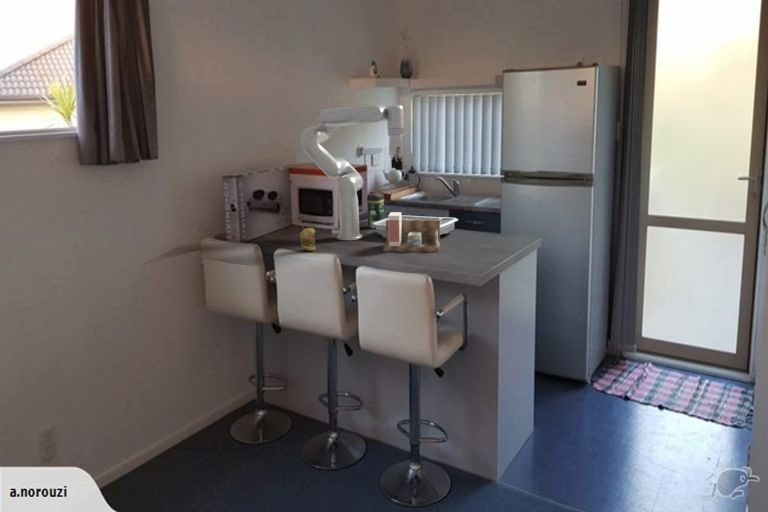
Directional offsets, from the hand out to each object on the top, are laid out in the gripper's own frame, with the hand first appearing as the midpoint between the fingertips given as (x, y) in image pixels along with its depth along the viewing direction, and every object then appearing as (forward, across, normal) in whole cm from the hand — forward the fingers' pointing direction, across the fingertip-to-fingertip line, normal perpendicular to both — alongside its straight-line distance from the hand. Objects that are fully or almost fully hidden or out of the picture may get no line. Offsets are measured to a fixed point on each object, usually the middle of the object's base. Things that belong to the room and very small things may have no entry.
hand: (396, 168), depth 308 cm
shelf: (+35, +18, +2) cm, 39 cm away
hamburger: (+34, +11, -45) cm, 57 cm away
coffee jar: (+35, -35, -5) cm, 50 cm away
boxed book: (+33, +16, -5) cm, 37 cm away
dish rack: (+35, -9, +10) cm, 38 cm away
